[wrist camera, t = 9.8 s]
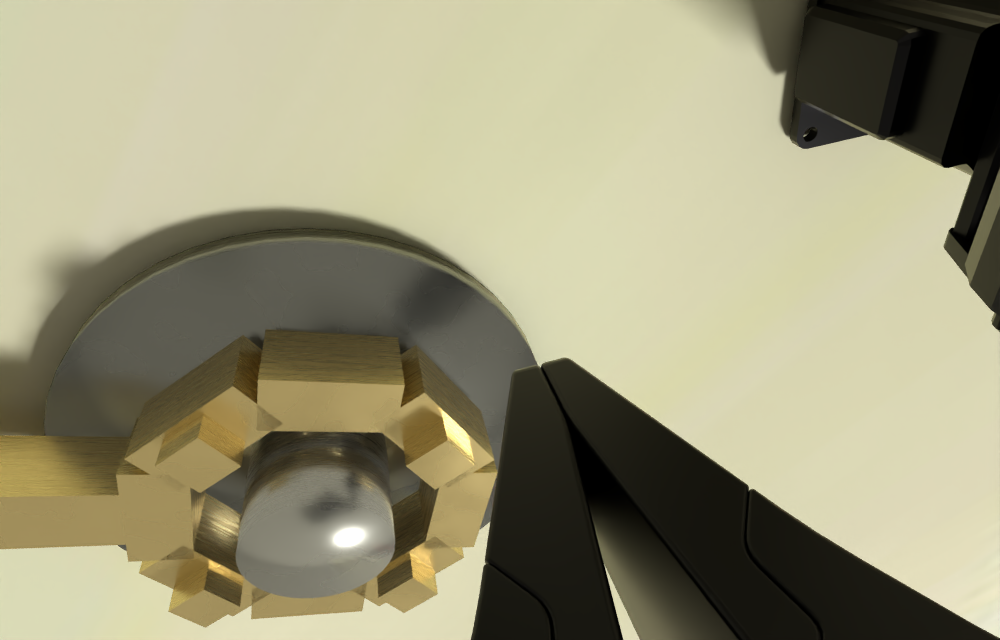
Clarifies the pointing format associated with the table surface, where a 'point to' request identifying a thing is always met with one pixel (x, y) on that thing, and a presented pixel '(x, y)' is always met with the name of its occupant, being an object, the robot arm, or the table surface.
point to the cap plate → (250, 311)
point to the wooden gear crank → (219, 451)
